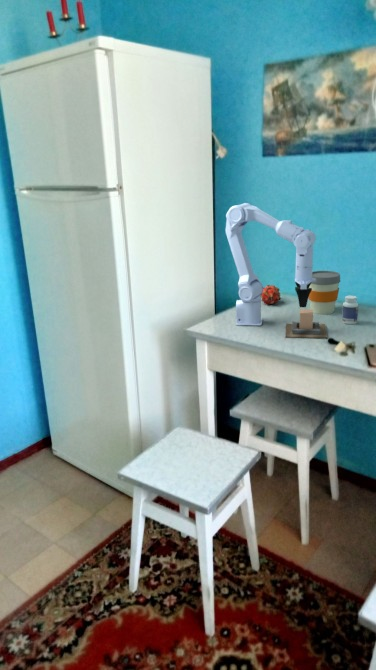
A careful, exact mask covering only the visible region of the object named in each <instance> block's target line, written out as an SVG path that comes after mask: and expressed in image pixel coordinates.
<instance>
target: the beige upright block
mask: <svg viewBox="0 0 376 670" xmlns="http://www.w3.org/2000/svg"><path fill="white" fill-rule="evenodd" d="M299 322H300V327H299V329H313V322H314V313H313V309H311V308H308V309H303V308H299Z"/></svg>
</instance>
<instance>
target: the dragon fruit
mask: <svg viewBox="0 0 376 670" xmlns="http://www.w3.org/2000/svg"><path fill="white" fill-rule="evenodd" d="M263 288H264V290H263V293H262V294H261V302H263V303H264V304H265V305H266V306H269V305H271V304H272V305H273V304H277V303H278V302H279V301H281V299H282V297H281V293H280V287H276V285H274V284H272V285H270V284H267V285H266V286H265V287H263Z"/></svg>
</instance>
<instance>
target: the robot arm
mask: <svg viewBox="0 0 376 670" xmlns="http://www.w3.org/2000/svg"><path fill="white" fill-rule="evenodd" d="M225 218H226V222H225V231H224V232H225V235H226V237H227V241H228V244H229V248H230V251H231V254H232V257H233V261H234V264H235V266H236V271H237V273H238V277H239V280H238V283H237V286H238V296H239V299H236V303H235V320H236V322H235V325H236V326H260V327H261V326H262V324H263V318H262V298H261V294H262V293H263V290H264V288H265V287H264V285H263V283H262V282H261V281H260V279H259V276H258V275H257V274H256V273H255V272H254V269H253V265H252V263H251V260H250V257H249V254H248V250H247V247H246V244H245V241H244V236H243V234H242V231H243V229H244V227H245V226H246V225H247V223H249V222H254V221H255V222H258V223H259V224H262V225H264V226H266V227H268V228H270V229H273V230H275V232H276V233H275V234H276V235H277V236H278V237H280V238H282V239H285V240H286V241H288V242H290V243H292V244H293V245H294V247H295V248H296V250H295V251H296V253H295V273H294V283H295V285H296V286H295V287H294V290H295V293H296V295H297V300H298V305H299V308H307V305H308V300H309V294H310V292H311V291H312V288H309V286H310V284H311V282H312V281H315V278H312V272H313V266H314V265H313V263H314V261H313V260H314V244H315V242H316V240H317V237H316V233H314V232H313V231H312V230H311V229H305V228H304V227H303V226H301V227H300V226H298V225H296V224H294V223H293V221H292V220H291V219H288V220H286V219H284V220H281V221H280V220H279V219H277V218H275V216H272V215H271V214H268V213H267V212H265V211H263V210H262V209H260V208H259V207H258V206H256V205H252V204H250V203H248V202H244V203H241V204H237V205H232V206H231V207H229V209H228V211H227V212H226V214H225Z"/></svg>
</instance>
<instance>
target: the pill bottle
mask: <svg viewBox="0 0 376 670" xmlns="http://www.w3.org/2000/svg"><path fill="white" fill-rule="evenodd" d="M358 315H359V303H358V302H357V296H355V295H346V296H345V297H344V301H343V303H342V313H341V322H342V323H343V324H346V325H354V324H357V323H358Z"/></svg>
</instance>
